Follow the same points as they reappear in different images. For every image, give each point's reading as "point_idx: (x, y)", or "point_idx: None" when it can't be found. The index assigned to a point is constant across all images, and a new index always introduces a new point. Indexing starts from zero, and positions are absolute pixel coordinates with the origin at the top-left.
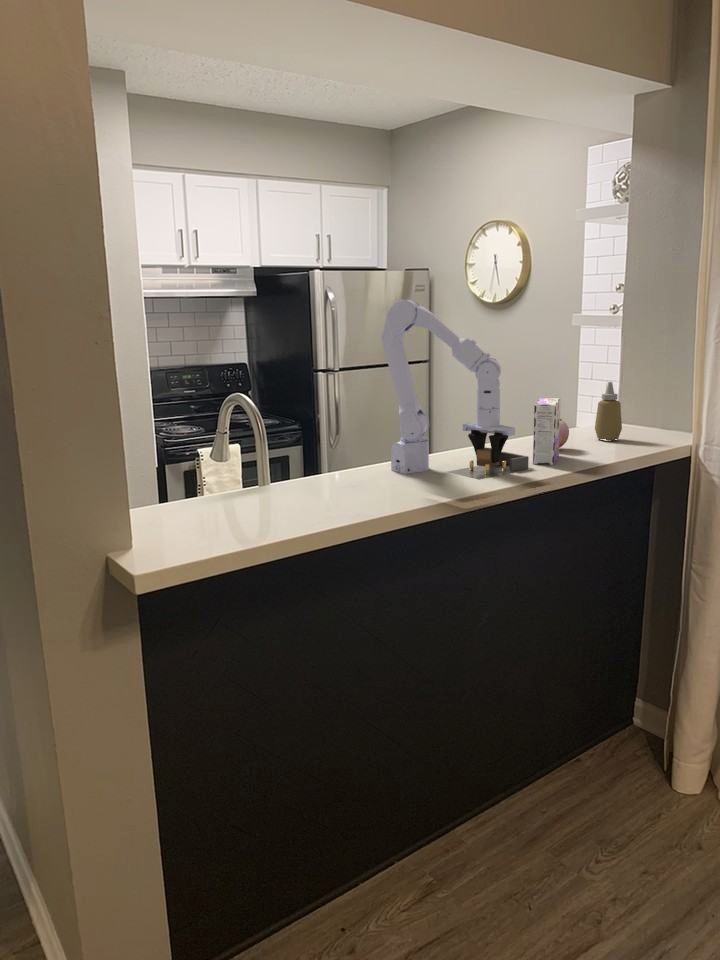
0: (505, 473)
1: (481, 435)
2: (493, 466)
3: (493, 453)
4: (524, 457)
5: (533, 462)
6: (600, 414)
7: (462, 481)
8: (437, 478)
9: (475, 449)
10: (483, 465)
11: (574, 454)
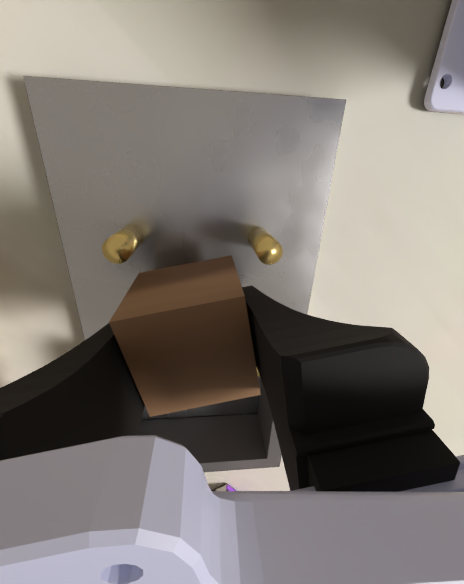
0: (92, 311)
1: (288, 454)
2: None
3: (100, 334)
4: None
5: (226, 489)
6: None
7: (170, 69)
8: (341, 2)
9: (271, 306)
10: (181, 266)
11: None
